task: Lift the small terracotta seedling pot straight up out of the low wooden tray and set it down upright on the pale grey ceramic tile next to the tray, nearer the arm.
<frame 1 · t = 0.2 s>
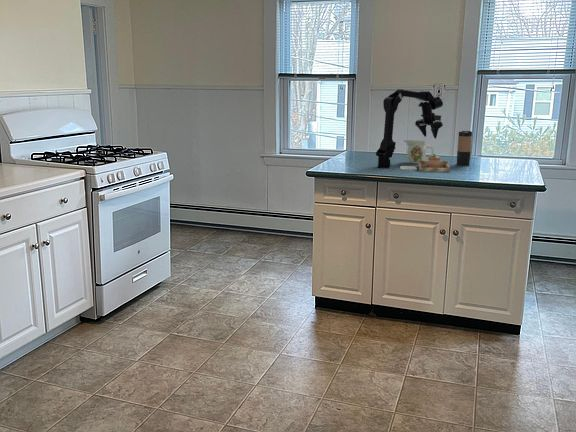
hand: (430, 137, 341), 15 cm above the countertop, tool pointing down, fingers open, 9 cm apart
tile: (408, 169, 323), on the countertop
travel mug: (462, 165, 334), on the countertop
pitcher: (417, 163, 342), on the countertop
pot: (433, 169, 320), point 1 cm above the countertop, touching wooden tray
wooden tray: (433, 170, 320), on the countertop
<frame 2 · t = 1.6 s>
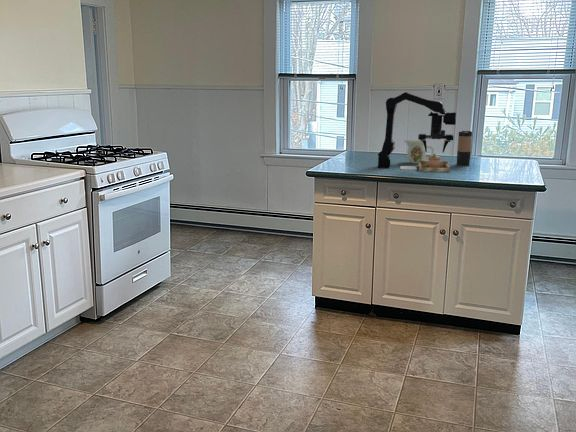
hand: (434, 152, 318), 10 cm above the countertop, tool pointing down, fingers open, 9 cm apart
nothing on the countertop moved.
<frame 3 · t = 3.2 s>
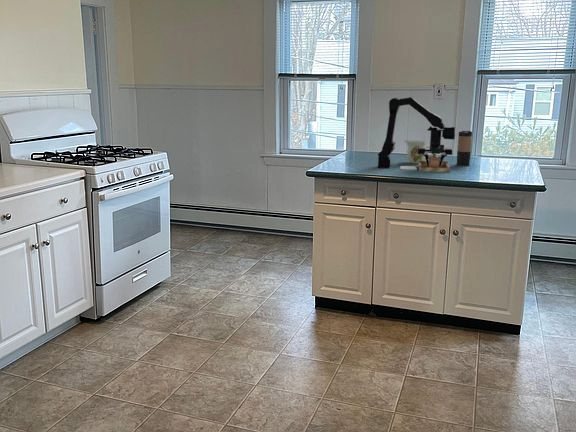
hand: (433, 166, 320), 2 cm above the countertop, tool pointing down, fingers closed on pot, 6 cm apart
pot: (433, 168, 320), point 1 cm above the countertop, touching wooden tray, gripper
everything else where it was.
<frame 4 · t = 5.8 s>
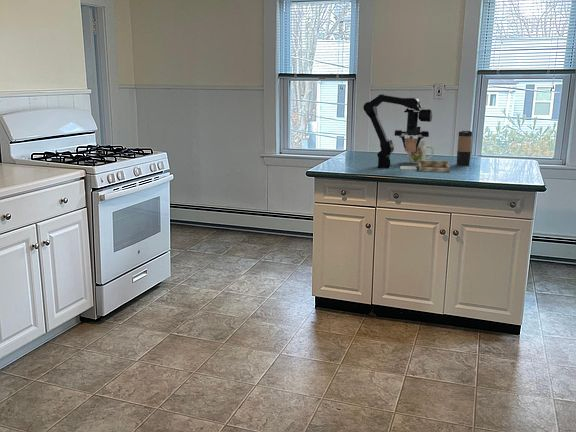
hand: (410, 148, 320), 12 cm above the countertop, tool pointing down, fingers closed on pot, 6 cm apart
pot: (410, 151, 320), point 10 cm above the countertop, touching gripper
everything else where it was.
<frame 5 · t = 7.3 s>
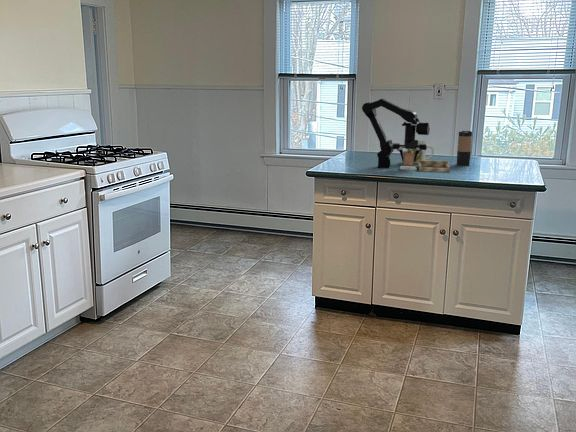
hand: (408, 161, 322), 4 cm above the countertop, tool pointing down, fingers closed on pot, 6 cm apart
pot: (408, 164, 322), point 3 cm above the countertop, touching gripper
everything else where it was.
when the fingers open (4 cm above the countertop, at t = 8.3 s): pot drops 2 cm, resting on tile.
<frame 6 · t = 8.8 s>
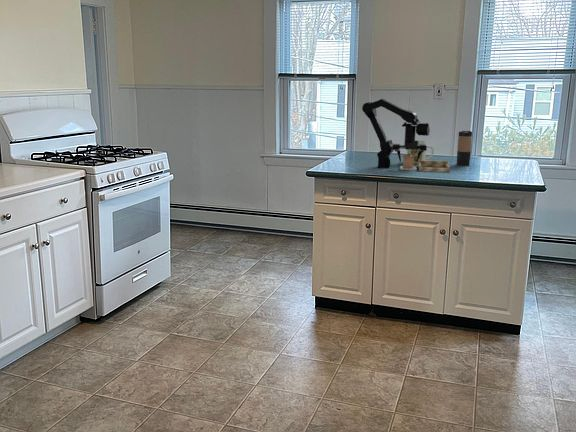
hand: (408, 162, 322), 4 cm above the countertop, tool pointing down, fingers open, 9 cm apart
pot: (408, 167, 323), point 1 cm above the countertop, touching tile
everything else where it was.
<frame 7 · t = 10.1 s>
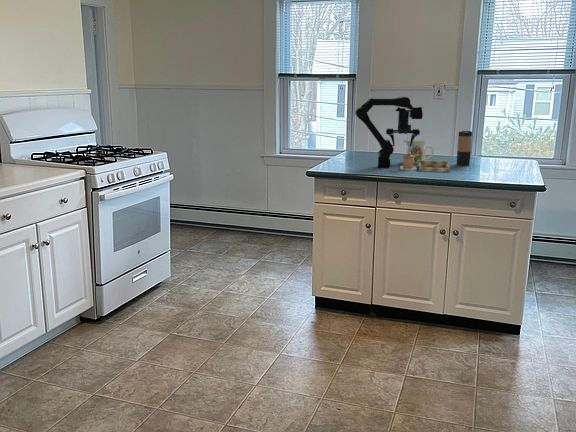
hand: (402, 146, 326), 12 cm above the countertop, tool pointing down, fingers open, 9 cm apart
nothing on the countertop moved.
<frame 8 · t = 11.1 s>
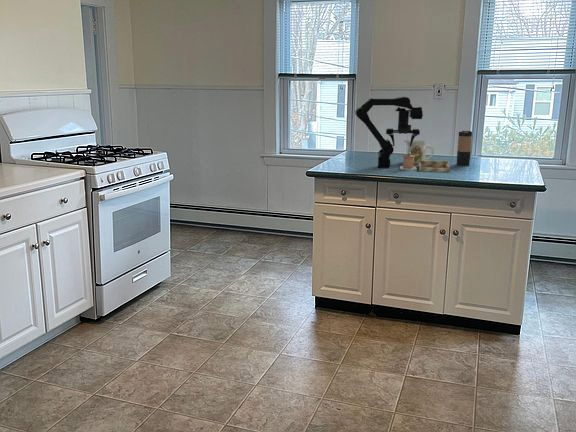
hand: (402, 146, 326), 12 cm above the countertop, tool pointing down, fingers open, 9 cm apart
nothing on the countertop moved.
at the end: pot 0.0 cm off-centre on the tile, point 1.0 cm above the tile's base; pot tilted 0°; the gripper is holding nothing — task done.
